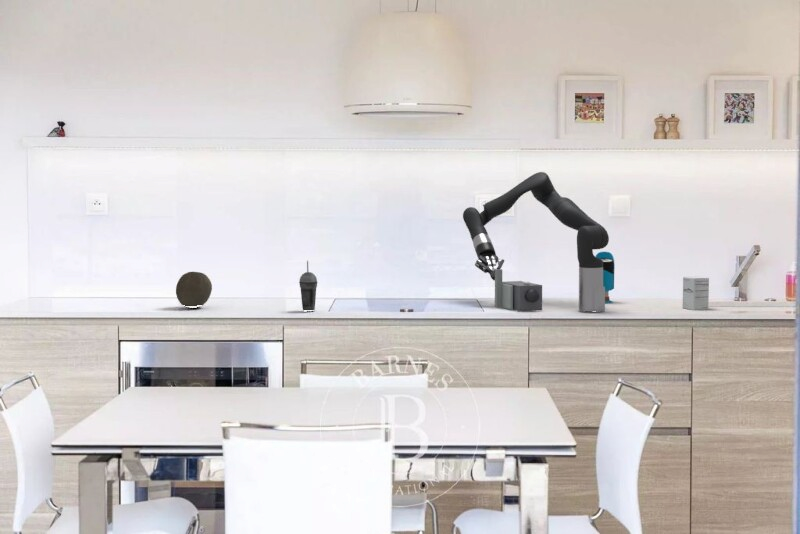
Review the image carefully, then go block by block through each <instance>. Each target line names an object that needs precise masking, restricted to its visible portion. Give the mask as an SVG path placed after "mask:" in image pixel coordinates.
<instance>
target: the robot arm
mask: <svg viewBox="0 0 800 534" xmlns="http://www.w3.org/2000/svg"><path fill="white" fill-rule="evenodd" d="M555 188H556V187H555V186H554V184H553V183H552V180H551V178H550V176H549V175H548V174H547V173H546V172H545V171H539V172H536V173H534V174H532V175H530V176H528V177H527V178H526V179H524V180H523V181H521V182H520V183H518V184H517V185H516V186H514V187H513V188H511V189H510V190H508V191H506V192H505V193H503V194H501V195H500V196H498V197H496V198H494V199H491V200H489V201H487V202H486V203H484V204H483V210H482V211H481V212H480V211H479V210H478V209H477V208H476V207H472V206H469V207H467V208H465V210H464V211H463V212H462V219H463V221H464V224H465V225H466V228H467V230H468V232H469V234H470V238H471V241H472V244H473V247H474V248H473V249H474V251H475V255H476V256H477V259H476V261H475V263H474V266H475V267H476V268H478V269H479V270H481V271H482V272H483V273H484V274H487V273H488V274H489V275H490V278H491V280H493V281H495V269H502V267H503V266H504V263H505V259H503V258H501V259H500V258H499V257H498V255H497V253H496V250H495V248H494V244H493V242H492V240H491V238H490V237H489V234H488V231H487V229H486V227H485V226H486V225H487V224H489V222H491V221H492V220H493V219H494V218H497V217H498V216H501V215H503V214H505V213H507V212H508V211H509V210H511V209H512V207H513V206H514V205H515V204H516V203H517V201H518V200H519V199H520V198H521V197H522V196H523V195H524V194H526V193H528V192H531V194H532V196H533V197H534V198H535V200H536V201H538V202H539V203H541V204H542V205H543V206H544V207H546V208H548V210H549V211H550V213H552V215H554V217H555V218H556V219H557V220H558V221H559V222H560V223H562V224H563V225H564V226H566V227H568V228H570V229H573V230H575V231H577V234H576V248H577V249H576V251H577V256H576V257H577V260H578V312H580V311H596V312H595V313H600V312H599V311H603V312H606V303H605V287H603V260H601V259H599V258H597V257H596V255H594V252H593V250H602V249H604V248H606V247H607V246H608V244H609V239H610V236H609V233H608V231H607V230H606V228H605V227H604V226H603V225H601V224H600V223H598V222H597V221H596V220H594V219H593V218H591V216H589V215H588V214H587V213H585V212H584V211H583V210H582V209H581V208H580V207H579V206H578V205H577V203H575V202H574V201H573V200H572V199H570V198H569V197H565V196H564V197H563V196H561V195H560V194H559V193H558V191H557V190H556V189H555Z"/></svg>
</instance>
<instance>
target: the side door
mask: <svg viewBox="0 0 800 534" xmlns="http://www.w3.org/2000/svg"><path fill="white" fill-rule="evenodd" d="M502 282H503V269H502V268H501V269H495V280H494V308H495V307H496V308H504V309H507V310H512V309H513V286H512V285H507V284H502Z"/></svg>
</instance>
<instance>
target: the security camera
mask: <svg viewBox="0 0 800 534" xmlns="http://www.w3.org/2000/svg"><path fill="white" fill-rule="evenodd" d="M595 257H597V258H599V259H601V260H603V287H605V304H614V302H613V300H610V296H609V291H613V290H614V289H615V259H614V255H613V254H612V253H611V252H610V251H600V252H598V253H596V255H595Z"/></svg>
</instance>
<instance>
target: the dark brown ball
mask: <svg viewBox="0 0 800 534" xmlns="http://www.w3.org/2000/svg"><path fill="white" fill-rule="evenodd" d="M212 289H213V285H212V281H211V279H210V278H209V276H208V275H206V274H205V273H203V272H198V271H187V272H186V273H184V274H182V275H181V276H180V278H179V279H178V281H177V284H176V287H175V295H176V299H177V300H178V302H179V303H180V304H181V306H183V305H185V306H197V305H202V306H204V305H205V304H206V303H207V302H208V301H209V298H210V296H211V294H212V291H213V290H212ZM185 306H184V307H185Z"/></svg>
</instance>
